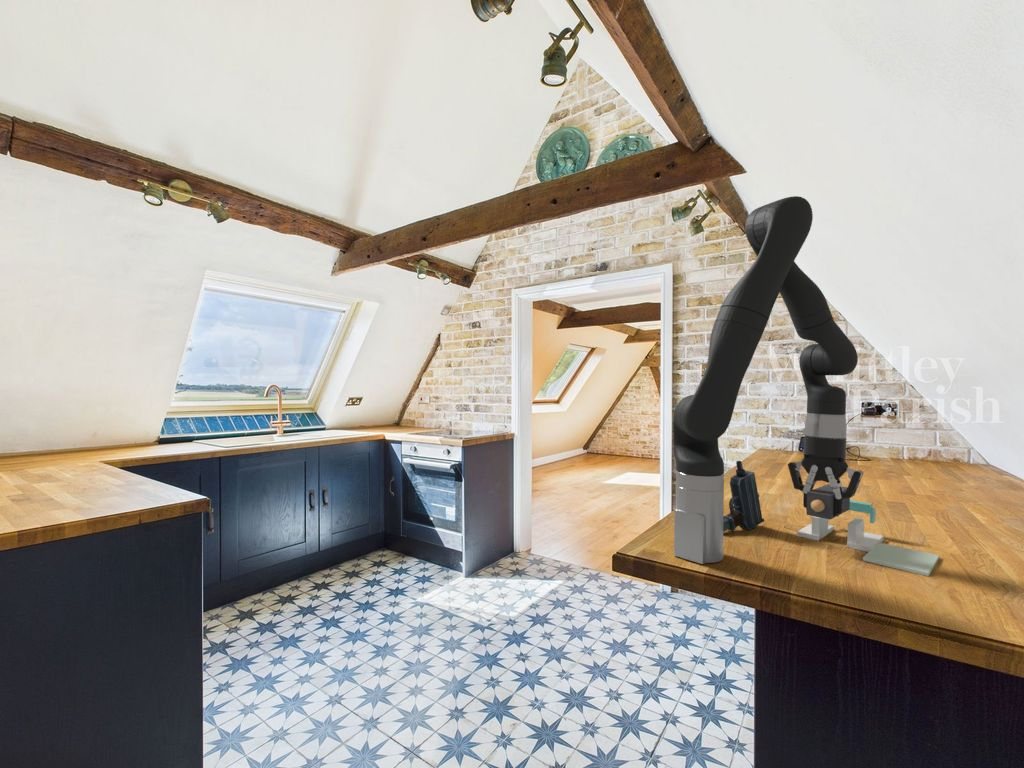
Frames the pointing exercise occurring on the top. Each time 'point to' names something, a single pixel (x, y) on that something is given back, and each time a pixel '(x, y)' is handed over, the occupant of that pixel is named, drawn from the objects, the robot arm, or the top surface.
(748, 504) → the gun
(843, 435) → the robot arm
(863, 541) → the clamp
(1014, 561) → the top surface
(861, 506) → the teal drawer handle
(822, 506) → the grey block with knob
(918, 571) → the mat
